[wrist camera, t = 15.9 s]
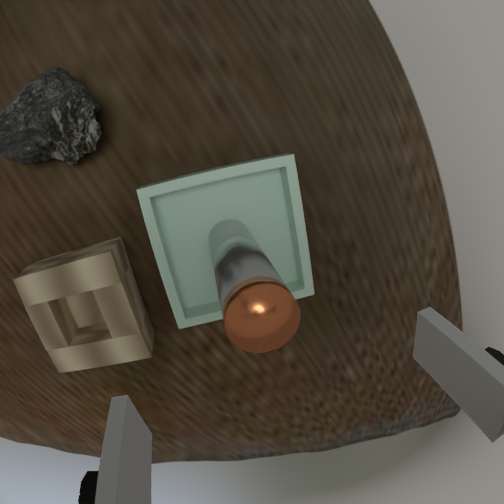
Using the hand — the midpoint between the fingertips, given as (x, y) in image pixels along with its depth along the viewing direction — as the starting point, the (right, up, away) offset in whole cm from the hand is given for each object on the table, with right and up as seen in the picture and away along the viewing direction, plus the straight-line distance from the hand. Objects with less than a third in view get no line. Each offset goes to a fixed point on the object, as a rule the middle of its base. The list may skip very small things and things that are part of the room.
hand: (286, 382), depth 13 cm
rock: (-21, +18, +15) cm, 32 cm away
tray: (-4, +7, +21) cm, 23 cm away
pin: (-4, +7, +21) cm, 22 cm away
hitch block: (-20, 0, +21) cm, 28 cm away
